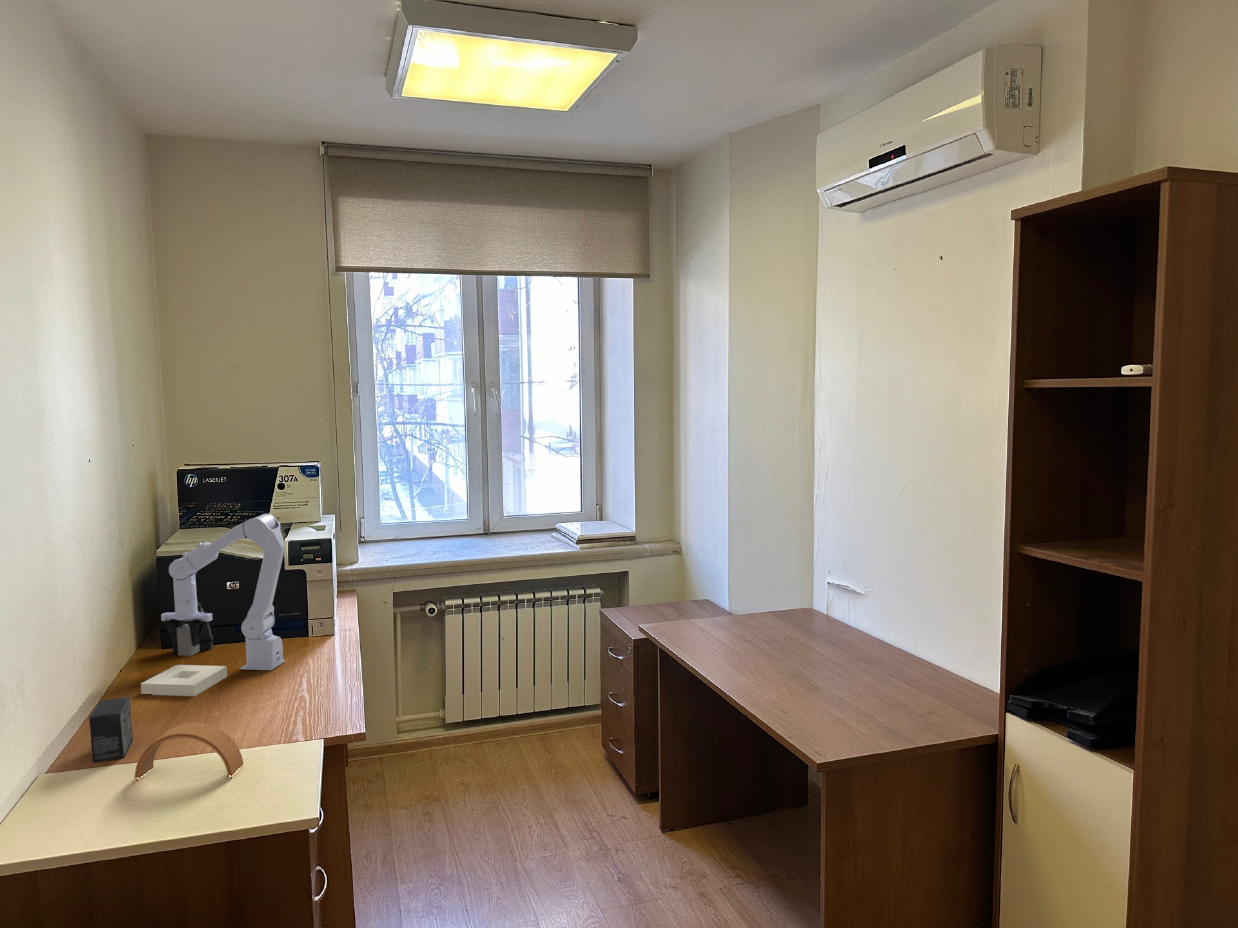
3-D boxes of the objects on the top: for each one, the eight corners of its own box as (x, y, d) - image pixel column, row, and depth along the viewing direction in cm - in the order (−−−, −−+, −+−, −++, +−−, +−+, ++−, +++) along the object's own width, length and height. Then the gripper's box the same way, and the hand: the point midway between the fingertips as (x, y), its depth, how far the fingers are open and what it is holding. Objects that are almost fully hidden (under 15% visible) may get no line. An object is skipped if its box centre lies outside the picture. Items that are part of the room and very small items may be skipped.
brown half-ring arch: (231, 779, 174) (229, 732, 173) (134, 780, 173) (131, 734, 172) (243, 766, 179) (241, 721, 179) (149, 768, 179) (146, 722, 178)
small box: (101, 743, 191) (98, 699, 190) (133, 739, 194) (131, 695, 193) (90, 763, 181) (87, 716, 180) (124, 758, 184) (121, 712, 183)
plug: (199, 651, 245) (198, 624, 244) (191, 655, 241) (189, 628, 240) (186, 650, 245) (185, 624, 244) (178, 655, 241) (176, 628, 240)
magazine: (222, 643, 260) (197, 602, 257) (181, 665, 257) (154, 624, 254) (224, 639, 264) (198, 599, 261) (183, 661, 261) (157, 621, 257)
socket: (227, 676, 235) (226, 666, 235) (194, 696, 220) (194, 685, 220) (177, 674, 237) (176, 664, 237) (141, 694, 222) (140, 683, 222)
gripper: (153, 601, 238) (156, 648, 240) (201, 602, 237) (203, 649, 238) (168, 595, 245) (171, 641, 247) (215, 596, 244) (218, 642, 245)
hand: (188, 644), depth 243 cm, fingers closed on plug, 4 cm apart
